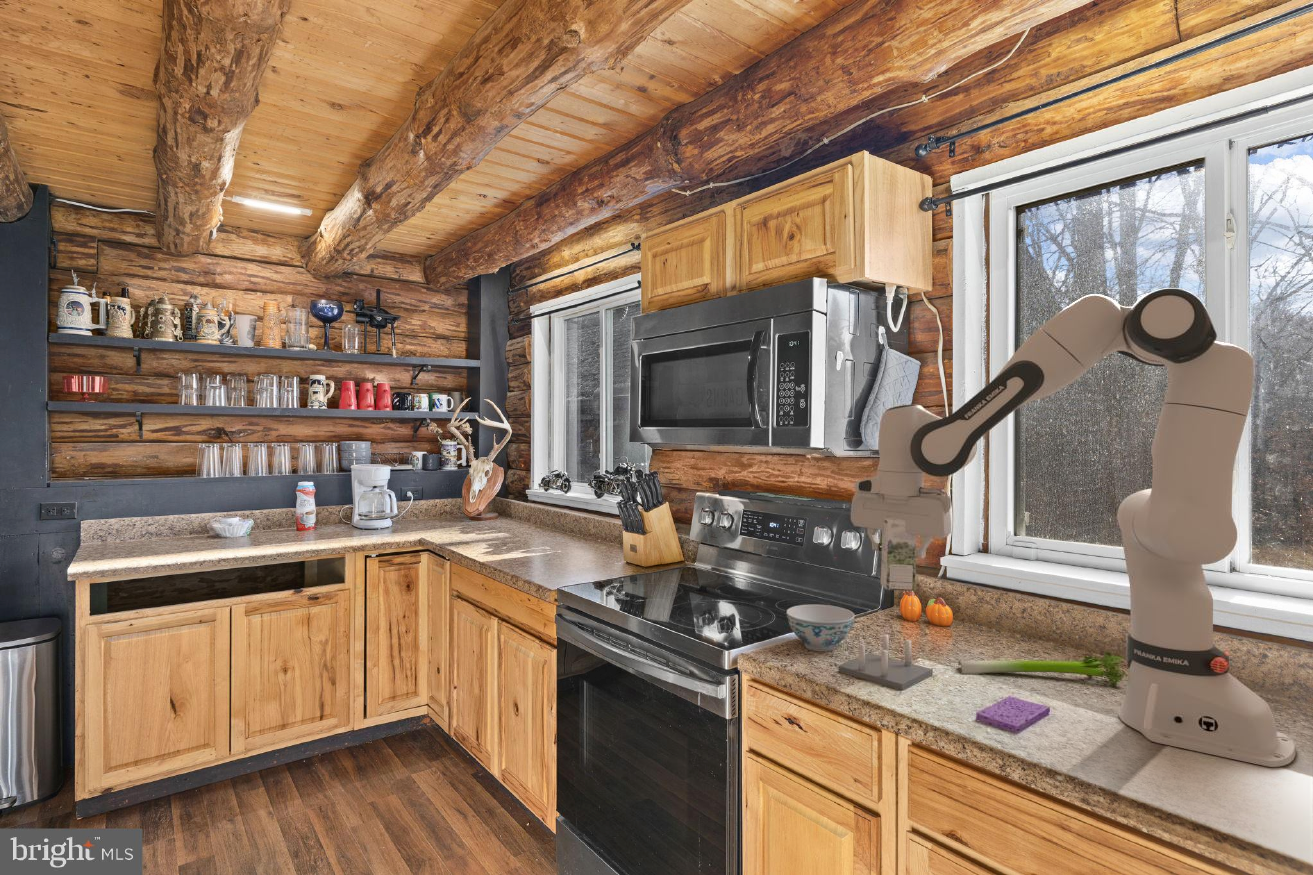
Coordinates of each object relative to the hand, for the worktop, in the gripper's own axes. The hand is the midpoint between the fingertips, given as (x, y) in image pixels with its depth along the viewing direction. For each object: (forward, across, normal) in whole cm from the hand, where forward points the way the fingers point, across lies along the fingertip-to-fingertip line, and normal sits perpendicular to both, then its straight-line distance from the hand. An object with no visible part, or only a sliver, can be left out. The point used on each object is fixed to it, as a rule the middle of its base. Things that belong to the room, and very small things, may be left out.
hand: (898, 554), depth 140 cm
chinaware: (+25, +20, -4) cm, 33 cm away
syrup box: (+7, 0, 0) cm, 7 cm away
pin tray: (+24, +2, +1) cm, 24 cm away
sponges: (+25, -24, +4) cm, 35 cm away
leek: (+24, -21, -20) cm, 37 cm away
